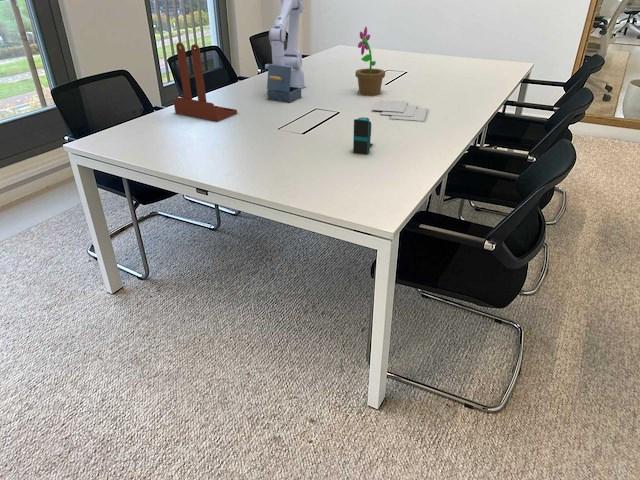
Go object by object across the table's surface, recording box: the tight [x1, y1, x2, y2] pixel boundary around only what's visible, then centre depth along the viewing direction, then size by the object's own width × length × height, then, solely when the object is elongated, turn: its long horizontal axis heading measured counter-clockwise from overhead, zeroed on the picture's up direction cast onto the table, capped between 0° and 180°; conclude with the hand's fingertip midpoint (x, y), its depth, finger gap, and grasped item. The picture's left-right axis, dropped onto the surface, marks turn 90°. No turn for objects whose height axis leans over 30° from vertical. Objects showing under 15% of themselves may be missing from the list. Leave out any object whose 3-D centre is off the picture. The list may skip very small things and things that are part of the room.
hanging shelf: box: [173, 42, 238, 123], centre depth 210 cm, size 24×13×30 cm, turn 59°
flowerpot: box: [355, 26, 386, 97], centre depth 236 cm, size 14×14×30 cm
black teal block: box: [352, 116, 373, 155], centre depth 175 cm, size 6×12×10 cm
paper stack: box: [371, 99, 428, 122], centre depth 217 cm, size 23×25×1 cm
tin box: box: [266, 87, 302, 104], centre depth 236 cm, size 10×12×4 cm
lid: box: [266, 65, 291, 92], centre depth 228 cm, size 11×12×4 cm
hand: (279, 85), depth 237 cm, fingers closed on walnut block, 4 cm apart
